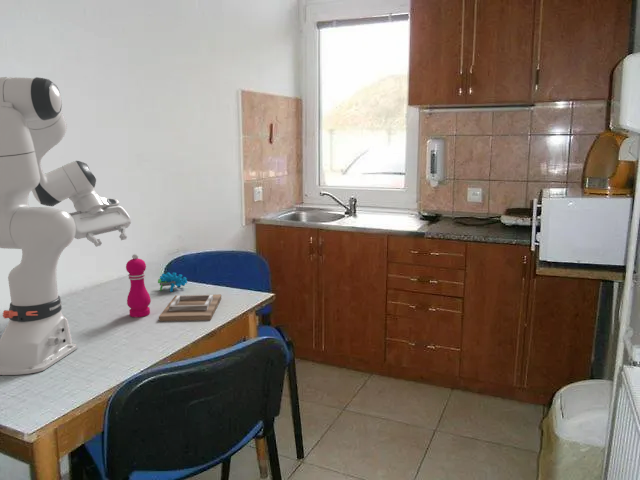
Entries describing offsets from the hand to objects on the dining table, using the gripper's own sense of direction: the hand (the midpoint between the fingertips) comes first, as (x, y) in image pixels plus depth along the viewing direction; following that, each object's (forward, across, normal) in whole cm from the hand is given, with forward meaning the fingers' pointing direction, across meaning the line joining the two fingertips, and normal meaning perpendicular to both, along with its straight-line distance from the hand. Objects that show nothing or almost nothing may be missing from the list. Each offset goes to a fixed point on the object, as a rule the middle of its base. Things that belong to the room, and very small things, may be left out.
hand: (112, 242), depth 173 cm
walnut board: (+32, +11, -2) cm, 34 cm away
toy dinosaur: (+17, +23, +17) cm, 33 cm away
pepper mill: (+25, -2, +6) cm, 26 cm away
